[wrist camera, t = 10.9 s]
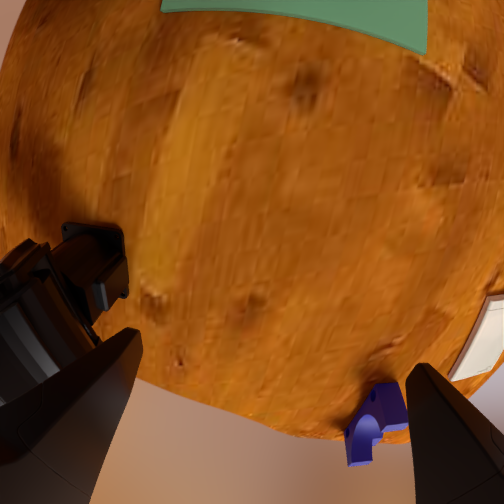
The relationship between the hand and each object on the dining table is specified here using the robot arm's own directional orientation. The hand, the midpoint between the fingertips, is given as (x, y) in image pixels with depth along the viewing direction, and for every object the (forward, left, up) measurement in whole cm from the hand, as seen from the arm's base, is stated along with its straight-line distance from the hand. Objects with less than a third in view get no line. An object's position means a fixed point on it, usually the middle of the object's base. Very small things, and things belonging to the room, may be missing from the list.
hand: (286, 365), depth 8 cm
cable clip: (+17, -23, -13) cm, 31 cm away
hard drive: (+28, -9, -14) cm, 33 cm away
